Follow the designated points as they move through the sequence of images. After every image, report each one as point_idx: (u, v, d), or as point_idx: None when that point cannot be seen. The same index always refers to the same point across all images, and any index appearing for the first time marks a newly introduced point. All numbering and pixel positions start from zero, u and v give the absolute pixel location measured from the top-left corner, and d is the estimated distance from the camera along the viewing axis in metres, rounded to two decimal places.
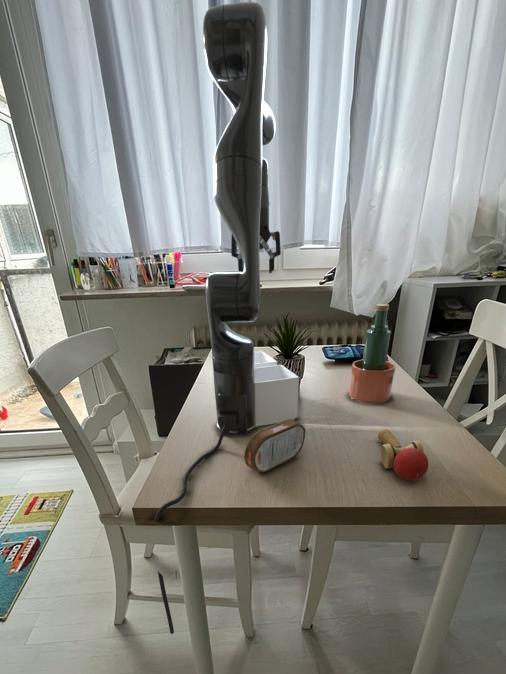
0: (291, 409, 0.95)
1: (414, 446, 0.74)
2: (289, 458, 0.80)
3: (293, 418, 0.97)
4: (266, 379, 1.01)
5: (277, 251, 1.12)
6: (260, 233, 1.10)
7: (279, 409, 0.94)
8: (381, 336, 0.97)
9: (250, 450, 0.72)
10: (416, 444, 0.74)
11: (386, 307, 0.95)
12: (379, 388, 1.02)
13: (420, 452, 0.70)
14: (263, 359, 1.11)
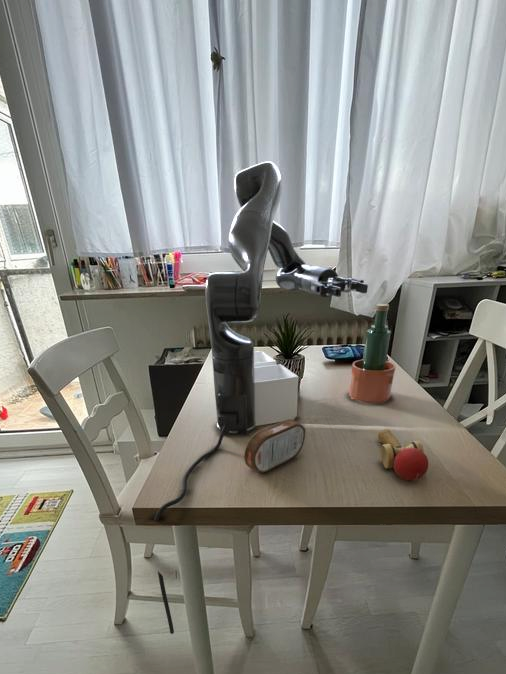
0: (291, 408, 0.96)
1: (414, 446, 0.74)
2: (289, 458, 0.80)
3: (293, 417, 0.97)
4: (266, 378, 1.01)
5: (360, 280, 1.09)
6: (336, 279, 1.10)
7: (279, 408, 0.95)
8: (381, 336, 0.97)
9: (250, 450, 0.72)
10: (416, 444, 0.74)
11: (386, 307, 0.95)
12: (379, 388, 1.02)
13: (420, 452, 0.70)
14: (262, 359, 1.11)
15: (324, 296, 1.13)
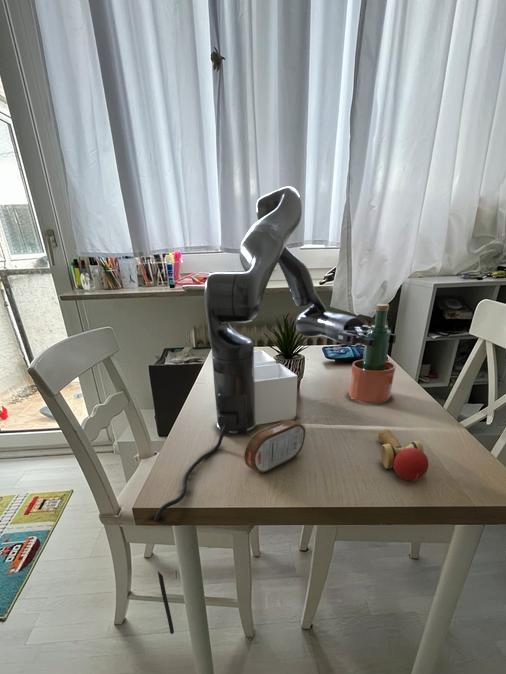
0: (290, 407, 0.96)
1: (414, 446, 0.74)
2: (289, 458, 0.80)
3: (292, 416, 0.98)
4: (265, 378, 1.01)
5: None
6: (362, 328, 1.06)
7: (278, 407, 0.95)
8: (381, 337, 0.97)
9: (250, 450, 0.72)
10: (416, 444, 0.74)
11: (386, 307, 0.95)
12: (379, 388, 1.02)
13: (420, 452, 0.70)
14: (262, 358, 1.12)
15: (349, 344, 1.09)
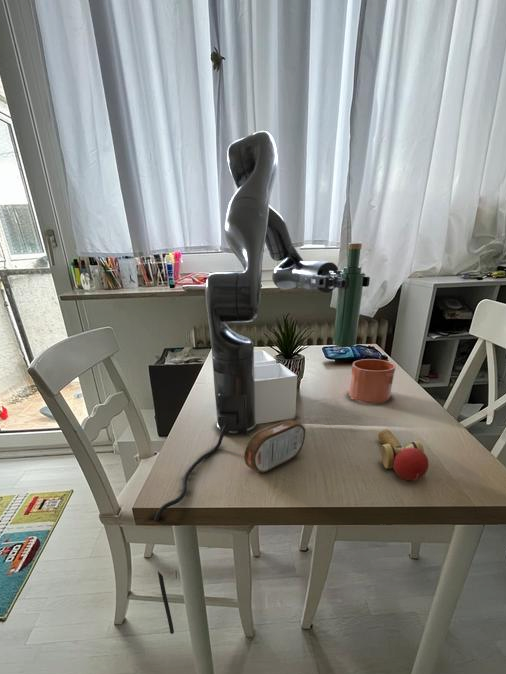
0: (290, 407, 0.96)
1: (414, 446, 0.74)
2: (289, 458, 0.80)
3: (291, 416, 0.98)
4: (265, 377, 1.02)
5: None
6: None
7: (277, 407, 0.95)
8: (354, 277, 0.93)
9: (250, 450, 0.72)
10: (416, 444, 0.74)
11: (359, 245, 0.91)
12: (379, 388, 1.02)
13: (420, 452, 0.70)
14: (263, 358, 1.12)
15: (324, 292, 1.05)
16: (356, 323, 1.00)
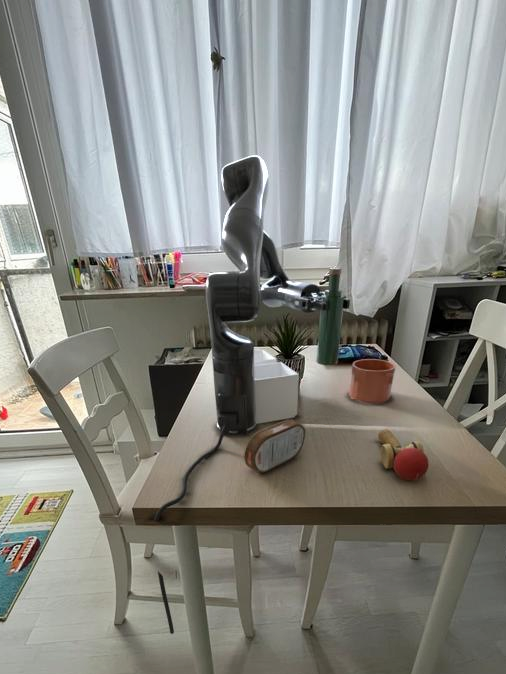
0: (291, 406, 0.96)
1: (414, 446, 0.74)
2: (289, 458, 0.80)
3: (293, 415, 0.98)
4: (266, 376, 1.02)
5: None
6: None
7: (279, 406, 0.95)
8: (334, 300, 0.98)
9: (250, 450, 0.72)
10: (416, 444, 0.74)
11: (338, 270, 0.95)
12: (379, 388, 1.02)
13: (420, 452, 0.70)
14: (263, 357, 1.12)
15: (308, 312, 1.10)
16: (337, 343, 1.04)
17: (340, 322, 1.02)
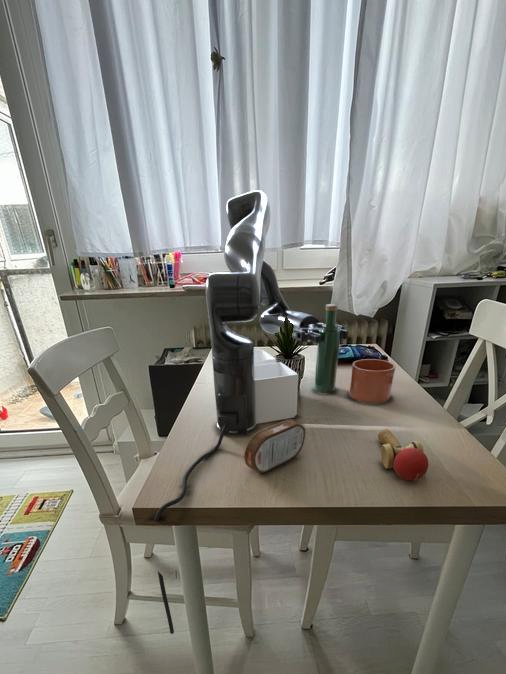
0: (291, 406, 0.96)
1: (414, 446, 0.74)
2: (289, 458, 0.80)
3: (293, 415, 0.98)
4: (266, 376, 1.02)
5: (341, 326, 1.09)
6: None
7: (279, 406, 0.95)
8: (331, 335, 1.02)
9: (250, 450, 0.72)
10: (416, 444, 0.74)
11: (334, 307, 1.00)
12: (379, 388, 1.02)
13: (420, 452, 0.70)
14: (262, 357, 1.12)
15: (306, 341, 1.14)
16: (334, 374, 1.09)
17: (337, 354, 1.06)
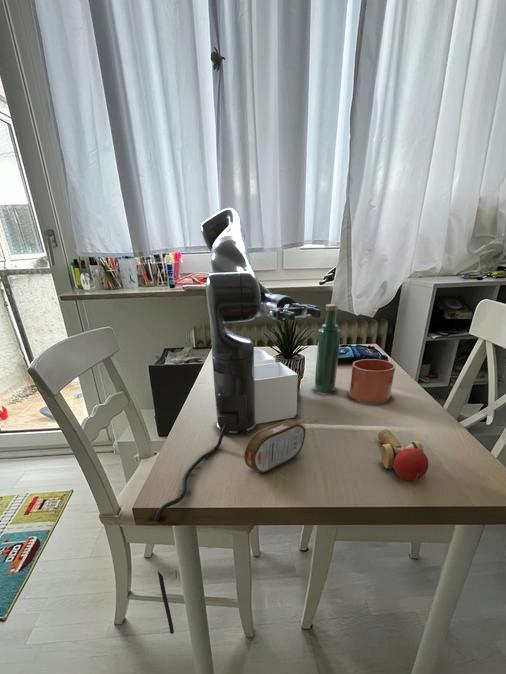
0: (291, 406, 0.96)
1: (414, 446, 0.74)
2: (289, 458, 0.80)
3: (292, 415, 0.98)
4: (265, 376, 1.02)
5: (315, 306, 1.17)
6: None
7: (278, 406, 0.95)
8: (331, 335, 1.02)
9: (250, 450, 0.72)
10: (416, 444, 0.74)
11: (334, 307, 1.00)
12: (379, 388, 1.02)
13: (420, 452, 0.70)
14: (262, 357, 1.12)
15: (283, 321, 1.22)
16: (334, 374, 1.09)
17: (337, 354, 1.06)
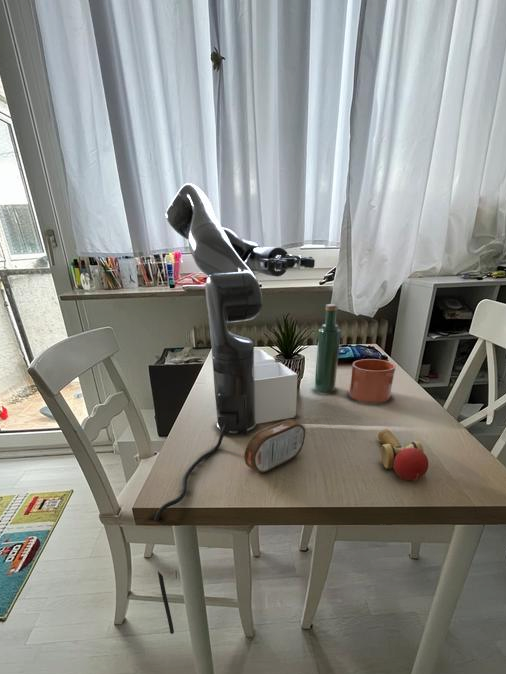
0: (290, 406, 0.96)
1: (414, 446, 0.74)
2: (289, 458, 0.80)
3: (292, 415, 0.98)
4: (265, 377, 1.02)
5: (309, 257, 1.10)
6: None
7: (278, 406, 0.95)
8: (331, 335, 1.02)
9: (250, 450, 0.72)
10: (416, 444, 0.74)
11: (334, 307, 1.00)
12: (379, 388, 1.02)
13: (420, 452, 0.70)
14: (261, 357, 1.12)
15: (275, 275, 1.15)
16: (334, 374, 1.09)
17: (337, 354, 1.06)
